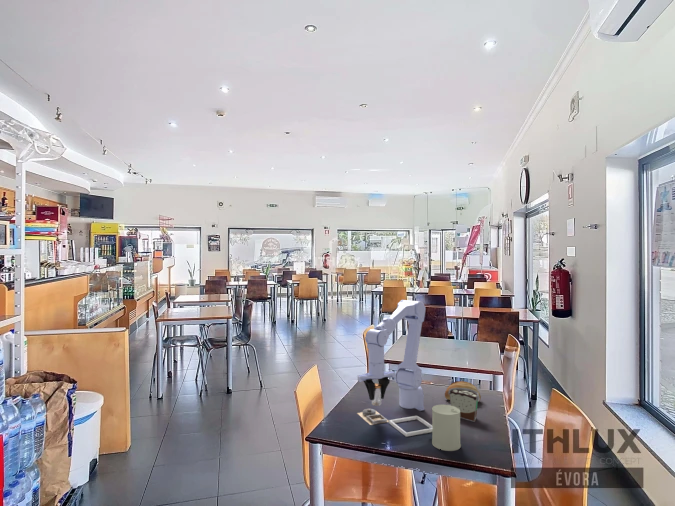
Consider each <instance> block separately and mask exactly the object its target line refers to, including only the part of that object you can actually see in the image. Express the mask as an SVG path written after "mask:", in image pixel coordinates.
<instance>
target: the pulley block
mask: <svg viewBox="0 0 675 506" xmlns="http://www.w3.org/2000/svg"><path fill="white" fill-rule="evenodd" d="M356 414H357V415H358V416H359V417H360V418H361V419H363V420H364V422H366V423H368V424H369V426H373V425H378V424H379V425H380V424H385V423H389V420H390V419H387V418H386V417H384V415H382V413H379V412H378V411H377V410H376V409H373V408H365V409H363V410H362V411H361V412H357V413H356Z"/></svg>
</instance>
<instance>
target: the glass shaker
mask: <svg viewBox="0 0 675 506" xmlns="http://www.w3.org/2000/svg"><path fill="white" fill-rule="evenodd" d="M381 387H382V385H381V384H379V383H375V386H374V400H371V405H372V406H375V407H379V406H382V399H381Z"/></svg>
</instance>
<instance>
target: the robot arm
mask: <svg viewBox="0 0 675 506" xmlns="http://www.w3.org/2000/svg"><path fill="white" fill-rule="evenodd" d="M426 309H427V307H426V305H425V304H424V302H423V301H422V300H411V299H410V300H409V299H408V300H407V299H401V300H399V302H397V307H396V309H395V310H394V311H393V312H392V314H391V315H390V316H389V317H383V318H382V320H381V321H380V322H379V323H378V324H377V325H376V326H375V327H374V328H371V329H369V330H368V331H367V332H366V334H365V337H364V340H365V343H366V348H367V349H368V372H367V373H362V374H359V375H357V381H358V382H359V383H362V382H363V384H364V386H365V388H366V390H367V394H368V398H369V400H370V401H372V400H374V386H375V384H376V383H375V382H374V381H375V380H378V381H377V382H378V384H381V385H382V387H381V400H384V398H385V395H386V391H387V388H388V386H389V385H390V383H391V381H390V379H391V378H392V379H393V378H394V381H395V383H396V384H397V387H398V388H399V389H398V392H399V393H398V395H399V396H398V398H399V400H398V401H399V405H398V406H400V408H403V409H416V410H417V411H425V405H424V403H425V400H424V399H425V397H424V396H425V395H424V393H425V392H424V389H423V388H422V386H421V384H422V381H423V379H422V378H423V377H422V369H421V367H420V366H419V365H418V364H417V362H418V361H417V360H418V355H419V346H420V338H421V332H422V326H423V322H425V317H426ZM402 319H403V320H406V321H407V323H408V329H407V335H406V336H407V337H406V342H405V349H404V355H403V361H402V362H401V363H399V364H398V365H397V368H396V372H395V371H385V345H386V344H387V343H388V339H389V337H390V335H391V334H392V333H393V332H394V331H395V330H396V328H397V324H398V323H399V322H400V321H401V320H402ZM373 380H374V381H373Z"/></svg>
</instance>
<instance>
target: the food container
mask: <svg viewBox="0 0 675 506" xmlns="http://www.w3.org/2000/svg"><path fill="white" fill-rule="evenodd" d="M448 394H450V400H449V403H450V405H451V406H455V407H457V408H459V409H460V419H463V420H466V421H469V422H474V423H476V421H477V413H478V403H479V402H480V401H481V400H480V398H479V395H478V393H477V392H476V391H474V390H471V389H467V388H452V389H449V392H448Z"/></svg>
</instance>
